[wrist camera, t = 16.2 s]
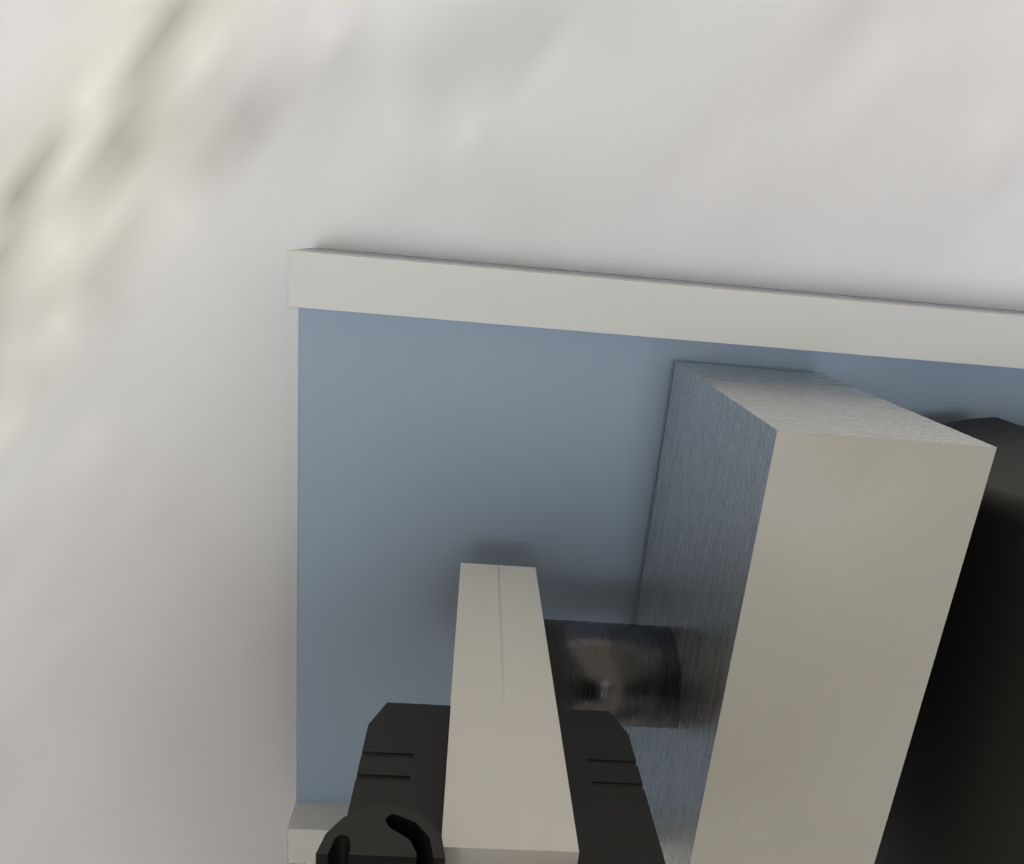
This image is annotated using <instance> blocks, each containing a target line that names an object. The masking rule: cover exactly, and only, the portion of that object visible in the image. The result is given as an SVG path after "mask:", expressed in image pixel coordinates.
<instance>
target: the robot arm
mask: <svg viewBox="0 0 1024 864" xmlns="http://www.w3.org/2000/svg"><path fill="white" fill-rule="evenodd" d="M642 785H643V783H642V780H641V776H640V773H639V769H638V767H637V766H636V759H635V755H634V752H633V748H632V745H631V741H630V738H629V734H628V733H627V732H626V731H625V730H624V728H623V727H622V726H621V725H620V724H619V722H618V721H617V720H616V719H615V718H614V716H613V715H612V714H611V713H610V712H609V711H597V710H577V709H557V705H556V698H555V692H554V685H553V678H552V672H551V665H550V659H549V652H548V646H547V639H546V633H545V626H544V620H543V613H542V607H541V600H540V594H539V587H538V581H537V574H536V568H535V567H521V566H505V565H489V564H473V563H461V567H460V580H459V593H458V607H457V620H456V633H455V647H454V660H453V673H452V687H451V701H450V705H431V704H411V703H391V702H387V703H386V704H385V705H384V707H383V708H382V709H381V710H380V711H379V712H378V714H377V715H376V716H375V717H374V718H373V720H372V721H371V722H370V723H369V724H368V728H367V732H366V737H365V741H364V745H363V750H362V756H361V758H360V762H359V767H358V771H357V777H356V780H355V784H354V788H353V792H352V797H351V801H350V805H349V810H348V814H347V816H345V817H343V818H342V819H341V820H340V821H339V822H338V823H337V824H336V825H334V826H333V827H332V828H331V829H330V830H329V831H328V832H327V833H326V834H325V836H324V838H323V840H322V842H321V844H320V846H319V848H318V850H317V852H316V864H666V863H665V860H664V856H663V853H662V849H661V846H660V842H659V839H658V835H657V832H656V828H655V825H654V821H653V818H652V814H651V811H650V807H649V804H648V800H647V797H646V794H645V790H644V789H643V786H642Z"/></svg>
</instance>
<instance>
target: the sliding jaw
mask: <svg viewBox="0 0 1024 864" xmlns="http://www.w3.org/2000/svg"><path fill="white" fill-rule="evenodd" d="M996 449H997V447H995V446H992V445H990V444H988V443H985V442H983V441H981V440H978V439H976V438H973V437H971V436H969V435H966V434H964V433H962V432H959V431H957V430H954V429H952V428H950V427H947V426H945V425H943V424H940V423H938V422H935V421H933V420H931V419H928V418H926V417H924V416H921V415H919V414H916V413H914V412H912V411H909V410H907V409H905V408H902V407H900V406H898V405H895V404H893V403H890V402H888V401H886V400H883V399H881V398H879V397H876V396H874V395H871V394H869V393H867V392H864V391H862V390H860V389H857V388H855V387H852V386H850V385H848V384H845V383H843V382H841V381H838V380H836V379H833V378H831V377H829V376H826V375H824V374H822V373H811V372H799V371H787V370H775V369H763V368H751V367H738V366H726V365H714V364H702V363H690V362H678V361H676V362H675V368H674V375H673V381H672V387H671V394H670V400H669V407H668V413H667V420H666V426H665V432H664V439H663V445H662V452H661V458H660V464H659V471H658V477H657V484H656V490H655V497H654V503H653V509H652V516H651V522H650V529H649V535H648V542H647V548H646V554H645V561H644V567H643V574H642V580H641V586H640V593H639V599H638V606H637V612H636V619H635V624H623V623H606V622H589V621H572V620H555V619H543V620H544V626H545V633H546V639H547V646H548V652H549V659H550V665H551V672H552V678H553V685H554V692H555V698H556V705H557V709H577V710H597V711H609V712H610V713H611V714H612V715H613V716H614V718H615V719H616V720H617V721H618V722H619V724H620V725H621V726H622V727H623V728H624V730H625V731H626V732H627V733H628V734H629V738H630V741H631V745H632V748H633V752H634V755H635V759H636V766H637V767H638V769H639V773H640V776H641V780H642V783H643V785H642V786H643V789H644V790H645V794H646V797H647V800H648V804H649V807H650V811H651V814H652V818H653V821H654V825H655V828H656V832H657V835H658V839H659V842H660V846H661V849H662V853H663V856H664V860H665V863H666V864H874V863H875V859H876V856H877V852H878V849H879V846H880V842H881V839H882V835H883V832H884V829H885V825H886V822H887V819H888V815H889V812H890V808H891V805H892V802H893V798H894V795H895V791H896V788H897V785H898V781H899V778H900V774H901V771H902V768H903V764H904V761H905V758H906V754H907V751H908V747H909V744H910V741H911V737H912V734H913V730H914V727H915V724H916V720H917V717H918V713H919V710H920V707H921V703H922V700H923V697H924V693H925V690H926V686H927V683H928V680H929V676H930V673H931V669H932V666H933V663H934V659H935V656H936V652H937V649H938V646H939V642H940V639H941V636H942V632H943V629H944V625H945V622H946V619H947V615H948V612H949V608H950V605H951V602H952V598H953V595H954V592H955V588H956V585H957V581H958V578H959V575H960V571H961V568H962V564H963V561H964V558H965V554H966V551H967V547H968V544H969V541H970V537H971V534H972V531H973V527H974V524H975V520H976V517H977V514H978V510H979V507H980V503H981V500H982V497H983V493H984V490H985V486H986V483H987V480H988V476H989V473H990V470H991V466H992V463H993V459H994V456H995V453H996Z"/></svg>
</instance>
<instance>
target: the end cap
mask: <svg viewBox="0 0 1024 864" xmlns="http://www.w3.org/2000/svg"><path fill="white" fill-rule="evenodd" d="M942 424H943V425H945V426H947V427H950V428H952V429H954V430H957V431H959V432H962V433H964V434H966V435H969V436H971V437H973V438H976V439H978V440H981V441H983V442H985V443H988V444H990V445H992V446H995V447H997V449H996V453H995V456H994V459H993V463H992V466H991V470H990V473H989V476H988V480H987V483H986V486H985V490H984V493H983V497H982V500H981V503H980V507H979V510H978V514H977V517H976V520H975V524H974V527H973V531H972V534H971V537H970V541H969V544H968V547H967V551H966V554H965V558H964V561H963V564H962V568H961V571H960V575H959V578H958V581H957V585H956V588H955V592H954V595H953V598H952V602H951V605H950V608H949V612H948V615H947V619H946V622H945V625H944V629H943V632H942V636H941V639H940V642H939V646H938V649H937V652H936V656H935V659H934V663H933V666H932V669H931V673H930V676H929V680H928V683H927V686H926V690H925V693H924V697H923V700H922V703H921V707H920V710H919V713H918V717H917V720H916V724H915V727H914V730H913V734H912V737H911V741H910V744H909V747H908V751H907V754H906V758H905V761H904V764H903V768H902V771H901V774H900V778H899V781H898V785H897V788H896V791H895V795H894V798H893V802H892V805H891V808H890V812H889V815H888V819H887V822H886V825H885V829H884V832H883V835H882V839H881V842H880V846H879V849H878V852H877V856H876V859H875V863H874V864H1024V426H1020V425H1017V424H1014V423H1012V422H1009V421H1006V420H1003V419H1001V418H998V417H987V418H974V419H965V420H959V421H952V422H947V423H942Z"/></svg>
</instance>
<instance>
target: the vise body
mask: <svg viewBox="0 0 1024 864" xmlns="http://www.w3.org/2000/svg"><path fill="white" fill-rule="evenodd" d="M288 307H299V376H298V604H297V802H296V805H295V808H294V811H293V814H292V817H291V820H290V823H289V826H288V863H306V864H316V852H317V850H318V848H319V846H320V844H321V842H322V840H323V838H324V836H325V834H326V833H327V832H328V831H329V830H330V829H331V828H332V827H333V826H334V825H336V824H337V823H338V822H339V821H340V820H341V819H342V818H343V817H345V816H347V814H348V810H349V805H350V801H351V797H352V792H353V788H354V784H355V780H356V777H357V771H358V767H359V762H360V758H361V756H362V750H363V745H364V741H365V737H366V732H367V728H368V724H369V723H370V722H371V721H372V720H373V718H374V717H375V716H376V715H377V714H378V712H379V711H380V710H381V709H382V708H383V707H384V705H385V704H386V703H387V702H391V703H411V704H431V705H450V701H451V687H452V673H453V660H454V647H455V633H456V620H457V607H458V593H459V580H460V567H461V563H473V564H489V565H505V566H521V567H535V568H536V574H537V581H538V587H539V594H540V600H541V607H542V613H543V619H555V620H572V621H589V622H606V623H623V624H635V619H636V612H637V606H638V599H639V593H640V586H641V580H642V574H643V567H644V561H645V554H646V548H647V542H648V535H649V529H650V522H651V516H652V509H653V503H654V497H655V490H656V484H657V477H658V471H659V464H660V458H661V452H662V445H663V439H664V432H665V426H666V420H667V413H668V407H669V400H670V394H671V387H672V381H673V375H674V368H675V362H676V361H678V362H690V363H702V364H714V365H726V366H738V367H751V368H763V369H775V370H787V371H799V372H811V373H822V374H824V375H826V376H829V377H831V378H833V379H836V380H838V381H841V382H843V383H845V384H848V385H850V386H852V387H855V388H857V389H860V390H862V391H864V392H867V393H869V394H871V395H874V396H876V397H879V398H881V399H883V400H886V401H888V402H890V403H893V404H895V405H898V406H900V407H902V408H905V409H907V410H909V411H912V412H914V413H916V414H919V415H921V416H924V417H926V418H928V419H931V420H933V421H935V422H938V423H940V424H942V423H947V422H952V421H959V420H965V419H974V418H987V417H998V418H1001V419H1003V420H1006V421H1009V422H1012V423H1014V424H1017V425H1020V426H1024V312H1021V311H1010V310H999V309H988V308H977V307H966V306H955V305H943V304H932V303H921V302H910V301H899V300H888V299H877V298H866V297H854V296H843V295H832V294H821V293H810V292H799V291H788V290H777V289H765V288H754V287H743V286H732V285H721V284H710V283H699V282H688V281H676V280H665V279H654V278H643V277H632V276H621V275H610V274H599V273H587V272H576V271H565V270H554V269H543V268H532V267H521V266H510V265H498V264H487V263H476V262H465V261H454V260H443V259H432V258H421V257H409V256H398V255H387V254H376V253H365V252H354V251H343V250H332V249H320V248H308V249H298V250H288Z"/></svg>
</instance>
